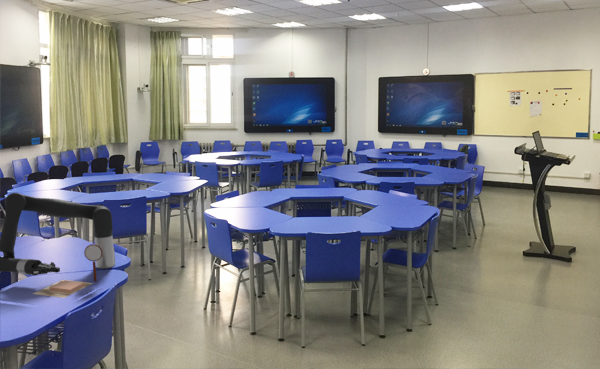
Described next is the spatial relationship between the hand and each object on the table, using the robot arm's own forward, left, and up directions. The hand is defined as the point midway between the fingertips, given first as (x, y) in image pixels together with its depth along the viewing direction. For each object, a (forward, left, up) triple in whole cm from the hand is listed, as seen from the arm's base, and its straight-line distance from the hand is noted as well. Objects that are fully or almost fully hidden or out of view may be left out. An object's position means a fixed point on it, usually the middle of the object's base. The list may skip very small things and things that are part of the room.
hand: (58, 270), depth 251 cm
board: (0, +2, -10) cm, 10 cm away
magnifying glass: (-13, +10, -10) cm, 19 cm away
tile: (0, -2, -8) cm, 8 cm away
